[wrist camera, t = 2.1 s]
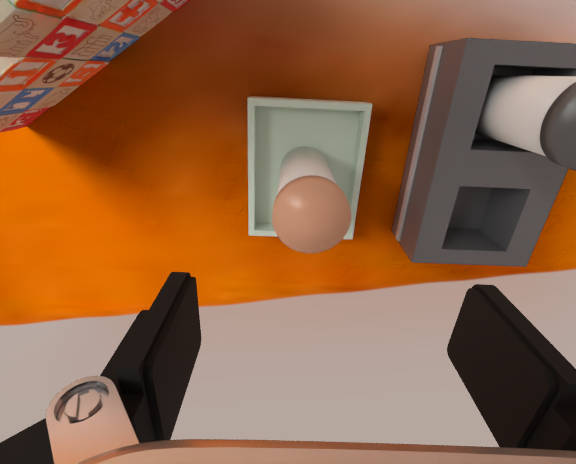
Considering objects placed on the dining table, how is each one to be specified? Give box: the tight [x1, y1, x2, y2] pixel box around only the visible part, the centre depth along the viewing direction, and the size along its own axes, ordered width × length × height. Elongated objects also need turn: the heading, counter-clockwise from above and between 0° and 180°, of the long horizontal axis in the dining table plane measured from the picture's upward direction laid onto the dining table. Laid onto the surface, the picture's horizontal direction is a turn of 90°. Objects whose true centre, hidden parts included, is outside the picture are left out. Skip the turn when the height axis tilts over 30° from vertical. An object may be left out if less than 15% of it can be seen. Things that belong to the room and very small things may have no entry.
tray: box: [247, 96, 373, 239], centre depth 27 cm, size 11×9×2 cm
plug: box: [272, 146, 351, 253], centre depth 23 cm, size 4×4×10 cm
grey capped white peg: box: [475, 75, 576, 171], centre depth 20 cm, size 4×4×10 cm
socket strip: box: [392, 38, 576, 267], centre depth 25 cm, size 15×9×6 cm, turn 177°
